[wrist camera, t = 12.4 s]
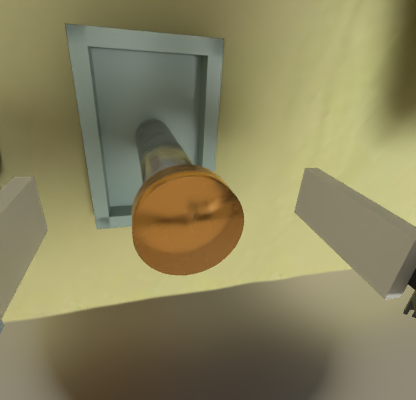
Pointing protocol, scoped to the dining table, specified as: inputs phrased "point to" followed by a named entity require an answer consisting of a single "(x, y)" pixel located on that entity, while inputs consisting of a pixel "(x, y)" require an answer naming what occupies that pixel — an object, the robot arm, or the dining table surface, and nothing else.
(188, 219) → the orange and grey cylinder
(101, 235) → the dining table surface
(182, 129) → the tray
